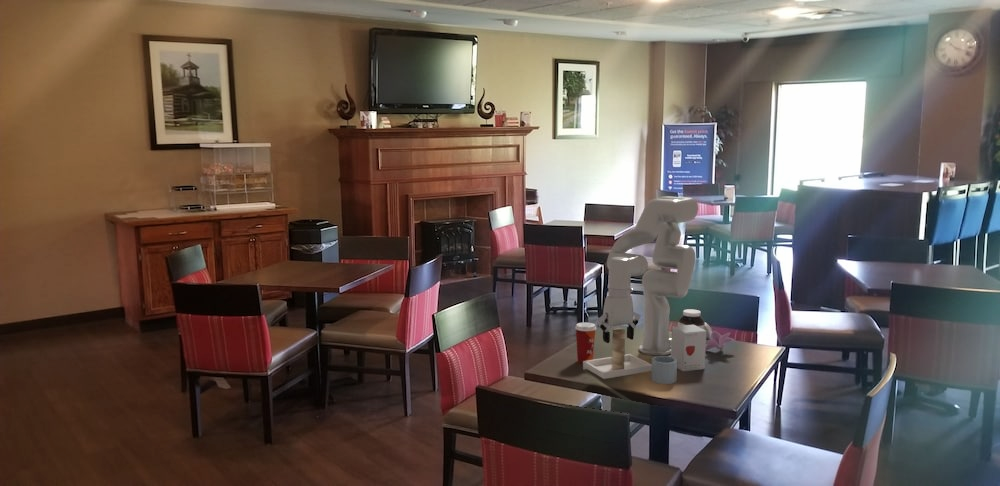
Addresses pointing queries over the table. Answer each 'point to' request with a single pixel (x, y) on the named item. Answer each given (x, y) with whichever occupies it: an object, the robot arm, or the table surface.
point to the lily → (718, 340)
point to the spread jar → (694, 320)
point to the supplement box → (688, 347)
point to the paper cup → (585, 341)
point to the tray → (631, 366)
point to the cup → (664, 369)
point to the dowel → (618, 348)
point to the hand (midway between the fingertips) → (618, 340)
